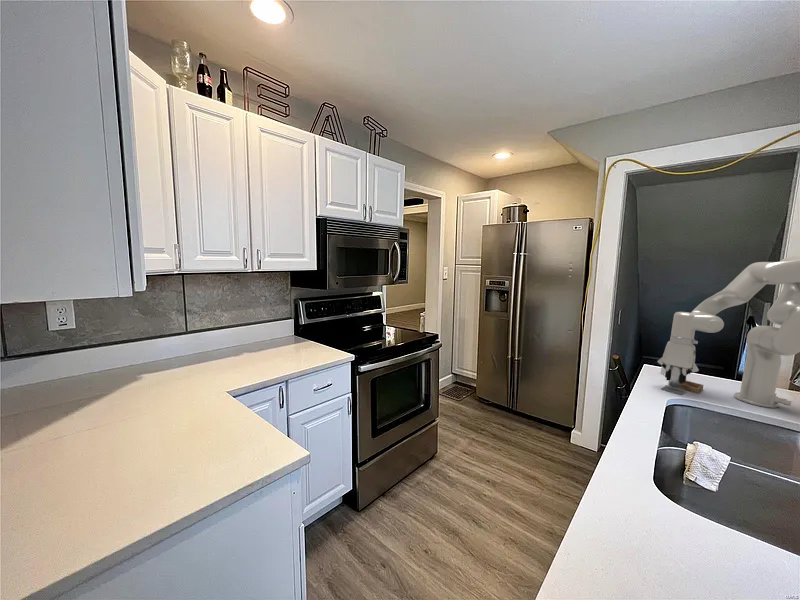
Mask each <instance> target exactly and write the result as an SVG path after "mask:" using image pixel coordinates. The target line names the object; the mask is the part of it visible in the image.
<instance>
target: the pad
mask: <svg viewBox="0 0 800 600" xmlns="http://www.w3.org/2000/svg"><path fill="white" fill-rule="evenodd" d="M660 390H661V391H664V390H665V392H668V393H672V394H676V395H679V396H683V395H684V394H685V393H686V392H687V391H686V390H683V389H679V388H674V387H671V386H669V385H668V384H666V385H664V386H663V387H661V389H660Z"/></svg>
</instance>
